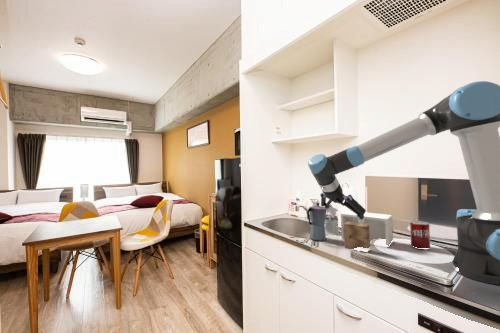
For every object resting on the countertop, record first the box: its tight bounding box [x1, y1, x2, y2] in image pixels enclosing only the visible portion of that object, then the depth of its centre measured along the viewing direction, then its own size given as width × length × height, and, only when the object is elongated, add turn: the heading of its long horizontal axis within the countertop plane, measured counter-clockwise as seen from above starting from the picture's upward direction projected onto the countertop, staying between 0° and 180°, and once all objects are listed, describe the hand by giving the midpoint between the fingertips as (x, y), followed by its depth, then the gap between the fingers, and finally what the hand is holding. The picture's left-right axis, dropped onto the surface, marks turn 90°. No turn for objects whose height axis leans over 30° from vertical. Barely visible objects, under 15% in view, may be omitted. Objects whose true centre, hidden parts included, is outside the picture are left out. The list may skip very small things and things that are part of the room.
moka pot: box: [306, 202, 327, 242], centre depth 120 cm, size 10×15×20 cm, turn 129°
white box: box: [340, 209, 394, 246], centre depth 114 cm, size 22×11×14 cm, turn 47°
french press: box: [324, 202, 341, 236], centre depth 132 cm, size 10×12×25 cm
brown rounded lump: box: [344, 222, 371, 250], centre depth 103 cm, size 10×5×12 cm, turn 47°
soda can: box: [409, 220, 431, 249], centre depth 102 cm, size 7×7×12 cm
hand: (347, 218), depth 99 cm, fingers open, 13 cm apart
